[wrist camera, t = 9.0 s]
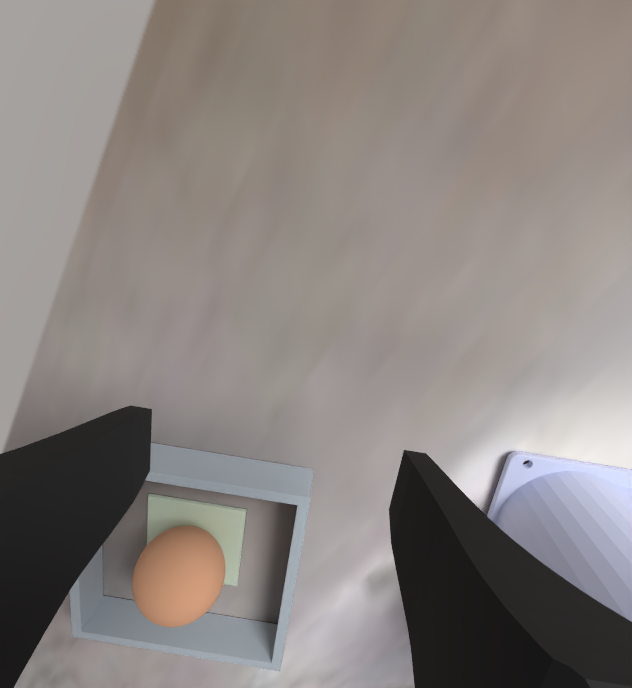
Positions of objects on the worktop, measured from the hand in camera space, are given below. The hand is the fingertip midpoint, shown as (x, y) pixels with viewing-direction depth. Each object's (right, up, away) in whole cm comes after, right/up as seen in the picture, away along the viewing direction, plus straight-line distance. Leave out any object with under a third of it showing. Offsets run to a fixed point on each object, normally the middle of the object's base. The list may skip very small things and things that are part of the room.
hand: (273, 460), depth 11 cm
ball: (-6, -9, +14) cm, 18 cm away
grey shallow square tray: (-6, -9, +14) cm, 18 cm away
